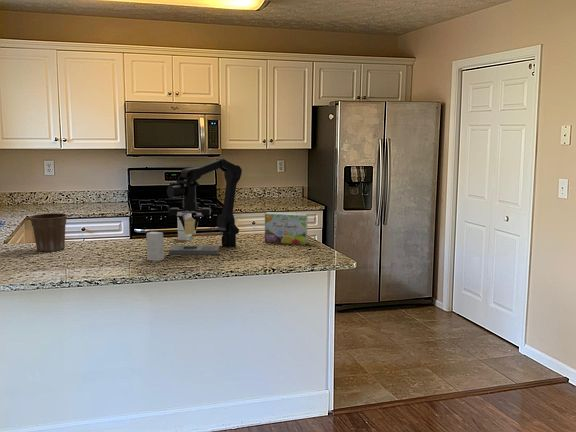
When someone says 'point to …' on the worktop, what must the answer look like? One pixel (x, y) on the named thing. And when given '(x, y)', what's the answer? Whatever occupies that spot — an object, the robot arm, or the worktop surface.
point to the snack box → (286, 228)
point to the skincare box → (155, 246)
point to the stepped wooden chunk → (190, 226)
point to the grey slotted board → (194, 250)
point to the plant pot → (49, 231)
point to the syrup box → (181, 230)
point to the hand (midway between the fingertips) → (190, 230)
